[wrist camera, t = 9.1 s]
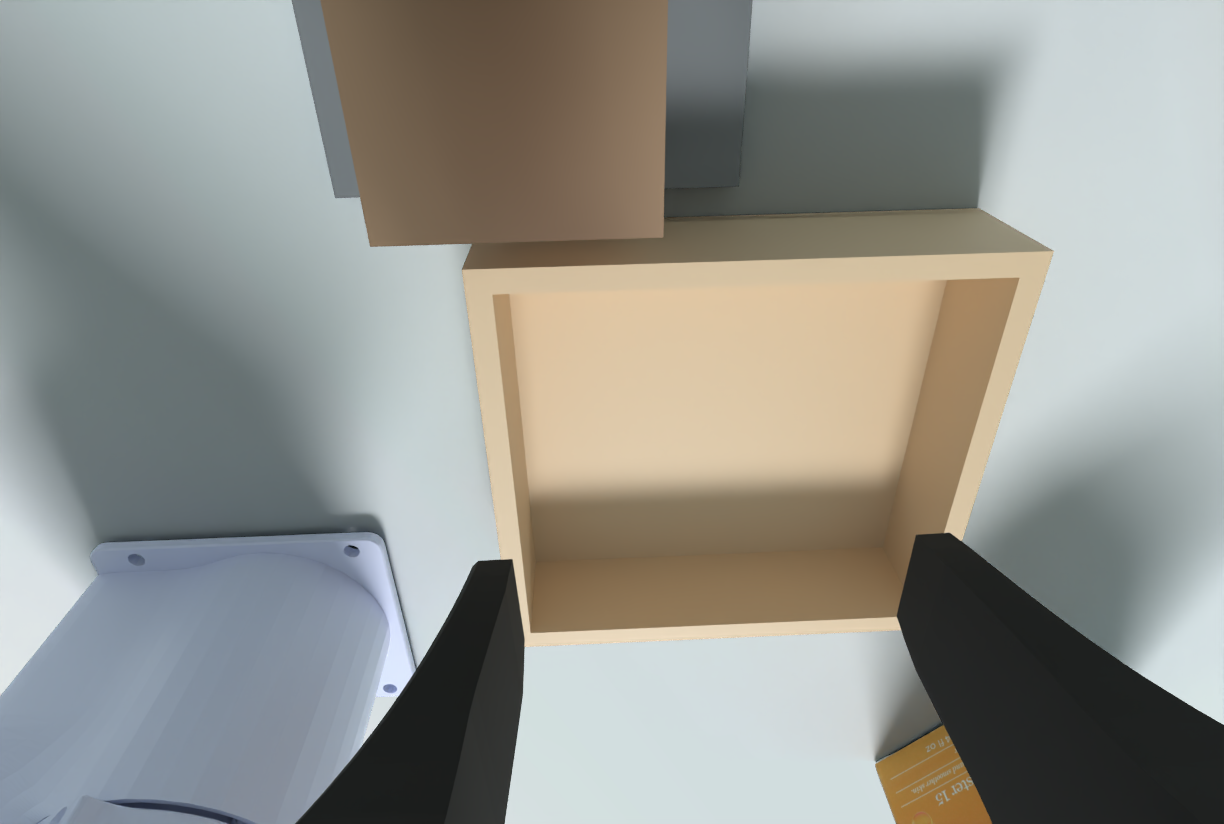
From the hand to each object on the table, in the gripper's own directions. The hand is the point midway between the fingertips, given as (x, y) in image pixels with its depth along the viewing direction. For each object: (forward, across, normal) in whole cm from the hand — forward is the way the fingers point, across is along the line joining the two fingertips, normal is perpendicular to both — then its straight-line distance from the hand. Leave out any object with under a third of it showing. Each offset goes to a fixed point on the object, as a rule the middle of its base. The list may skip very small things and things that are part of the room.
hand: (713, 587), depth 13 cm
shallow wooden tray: (+9, -2, +2) cm, 10 cm away
